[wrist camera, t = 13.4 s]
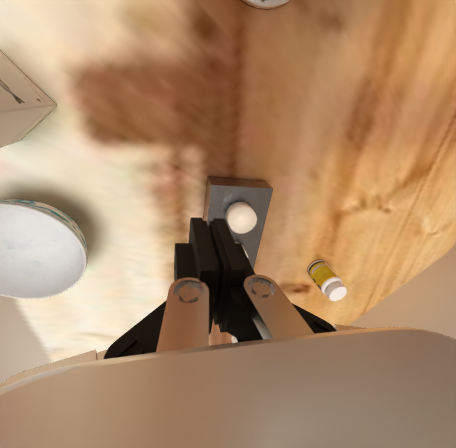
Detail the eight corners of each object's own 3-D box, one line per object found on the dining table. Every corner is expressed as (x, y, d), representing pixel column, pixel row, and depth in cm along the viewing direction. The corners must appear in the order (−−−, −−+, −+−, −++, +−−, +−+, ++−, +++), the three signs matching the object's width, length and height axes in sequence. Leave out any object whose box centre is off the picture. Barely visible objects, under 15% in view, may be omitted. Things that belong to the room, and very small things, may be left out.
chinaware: (-38, 186, 32) (-91, 211, 25) (83, 177, 34) (63, 197, 28) (14, 271, 39) (-16, 307, 33) (110, 258, 42) (99, 289, 35)
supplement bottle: (302, 270, 54) (323, 298, 47) (317, 256, 53) (340, 282, 46) (315, 277, 57) (336, 305, 50) (329, 264, 55) (353, 290, 48)
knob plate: (207, 176, 38) (211, 184, 35) (264, 180, 41) (273, 188, 38) (196, 286, 50) (198, 300, 46) (241, 284, 52) (246, 297, 49)
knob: (223, 193, 39) (231, 207, 34) (248, 194, 40) (259, 208, 36) (220, 216, 41) (227, 233, 36) (244, 217, 42) (253, 233, 38)
